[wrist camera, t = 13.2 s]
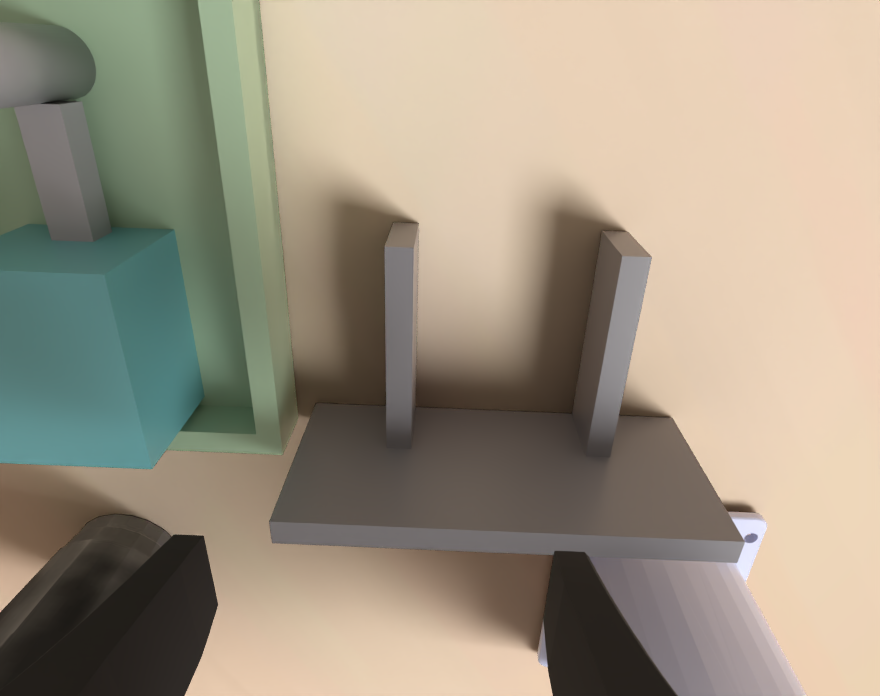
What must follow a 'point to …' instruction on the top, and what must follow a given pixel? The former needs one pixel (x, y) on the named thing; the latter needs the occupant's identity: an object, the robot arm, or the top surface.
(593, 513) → the rack
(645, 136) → the top surface
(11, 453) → the cyan and grey piece
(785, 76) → the top surface
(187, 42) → the tray
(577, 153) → the top surface
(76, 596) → the beverage cup
